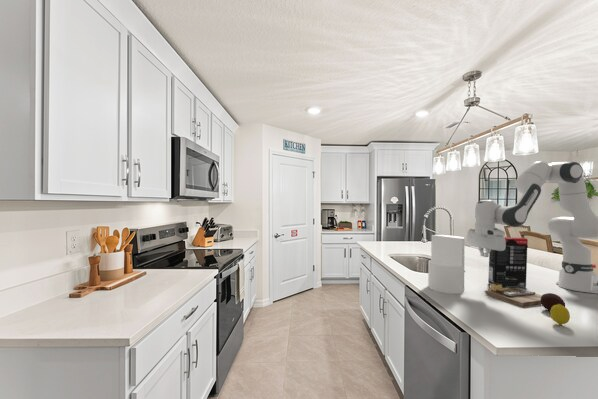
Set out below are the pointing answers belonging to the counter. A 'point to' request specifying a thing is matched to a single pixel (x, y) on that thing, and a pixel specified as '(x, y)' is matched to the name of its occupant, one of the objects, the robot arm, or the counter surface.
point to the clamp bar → (519, 293)
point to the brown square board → (516, 297)
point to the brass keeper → (497, 287)
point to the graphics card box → (509, 263)
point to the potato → (551, 300)
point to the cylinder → (446, 264)
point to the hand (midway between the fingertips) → (484, 256)
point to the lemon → (560, 314)
